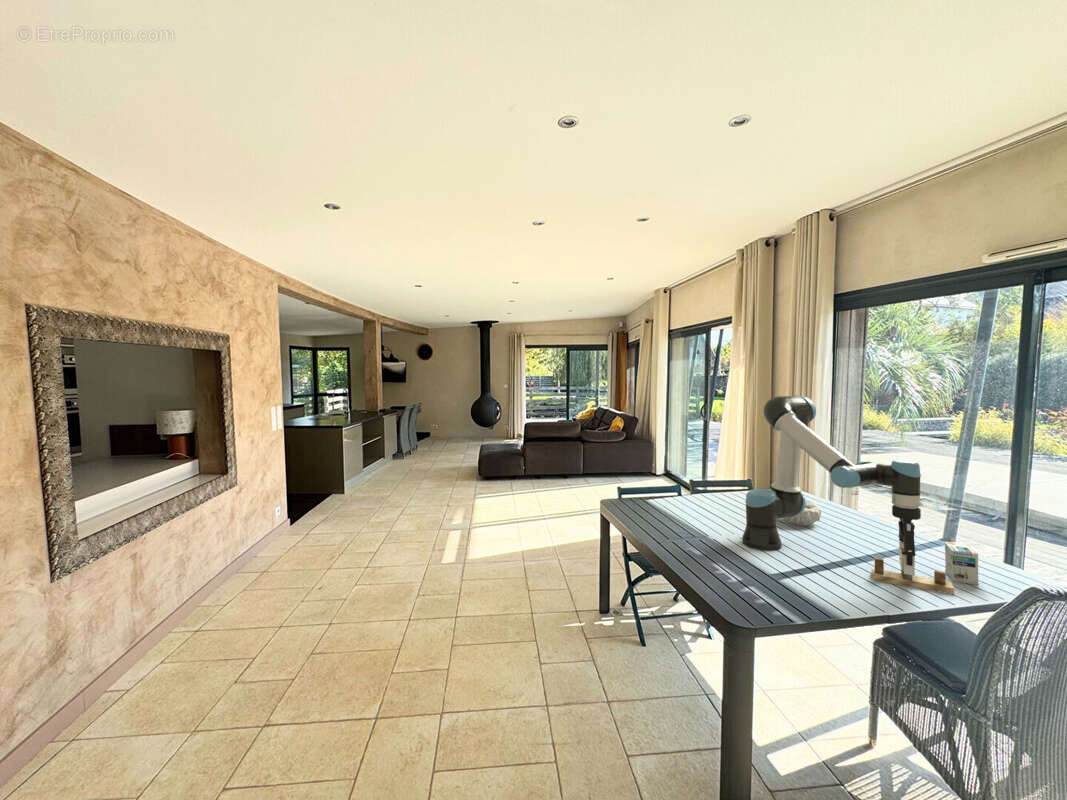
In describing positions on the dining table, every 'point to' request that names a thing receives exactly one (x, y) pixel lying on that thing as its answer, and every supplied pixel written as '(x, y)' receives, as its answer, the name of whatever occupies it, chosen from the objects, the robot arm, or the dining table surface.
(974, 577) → the light bulb box
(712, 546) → the dining table surface
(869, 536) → the dining table surface
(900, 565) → the lever cap
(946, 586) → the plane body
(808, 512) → the bowl
